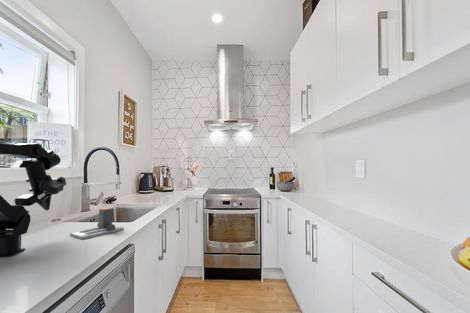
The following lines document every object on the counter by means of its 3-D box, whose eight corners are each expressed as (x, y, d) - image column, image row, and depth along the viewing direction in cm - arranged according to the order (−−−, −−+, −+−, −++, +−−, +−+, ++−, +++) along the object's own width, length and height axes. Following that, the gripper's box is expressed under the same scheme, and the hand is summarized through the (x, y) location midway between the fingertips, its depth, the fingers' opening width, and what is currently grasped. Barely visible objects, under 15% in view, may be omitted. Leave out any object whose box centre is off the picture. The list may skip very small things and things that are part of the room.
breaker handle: (103, 229, 110) (103, 209, 110) (98, 228, 112) (99, 208, 112) (111, 227, 113) (112, 208, 113) (107, 226, 115) (107, 207, 115)
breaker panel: (81, 239, 99) (81, 231, 99) (70, 235, 105) (70, 228, 105) (123, 229, 114) (123, 222, 114) (111, 226, 120) (111, 220, 120)
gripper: (37, 185, 88) (48, 223, 93) (73, 166, 105) (81, 199, 110) (7, 184, 88) (20, 222, 93) (48, 165, 106) (57, 198, 111)
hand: (47, 209), depth 102 cm, fingers closed
